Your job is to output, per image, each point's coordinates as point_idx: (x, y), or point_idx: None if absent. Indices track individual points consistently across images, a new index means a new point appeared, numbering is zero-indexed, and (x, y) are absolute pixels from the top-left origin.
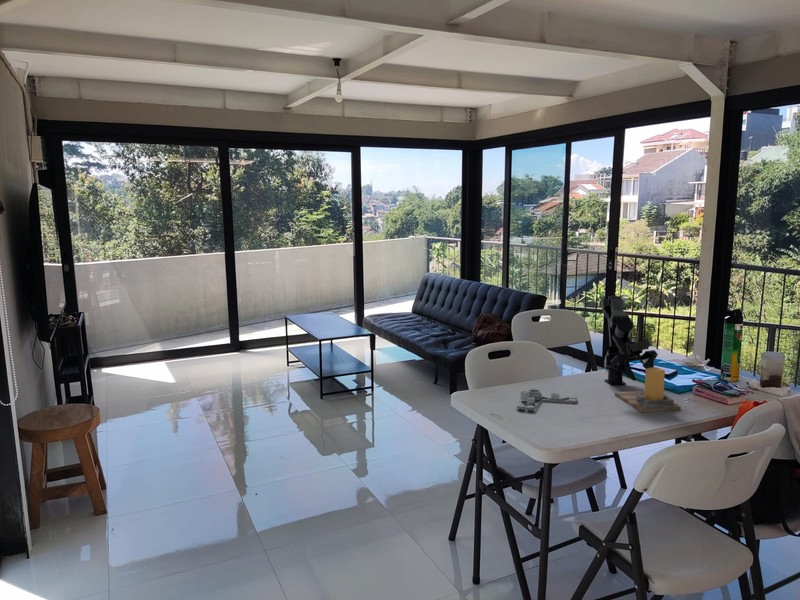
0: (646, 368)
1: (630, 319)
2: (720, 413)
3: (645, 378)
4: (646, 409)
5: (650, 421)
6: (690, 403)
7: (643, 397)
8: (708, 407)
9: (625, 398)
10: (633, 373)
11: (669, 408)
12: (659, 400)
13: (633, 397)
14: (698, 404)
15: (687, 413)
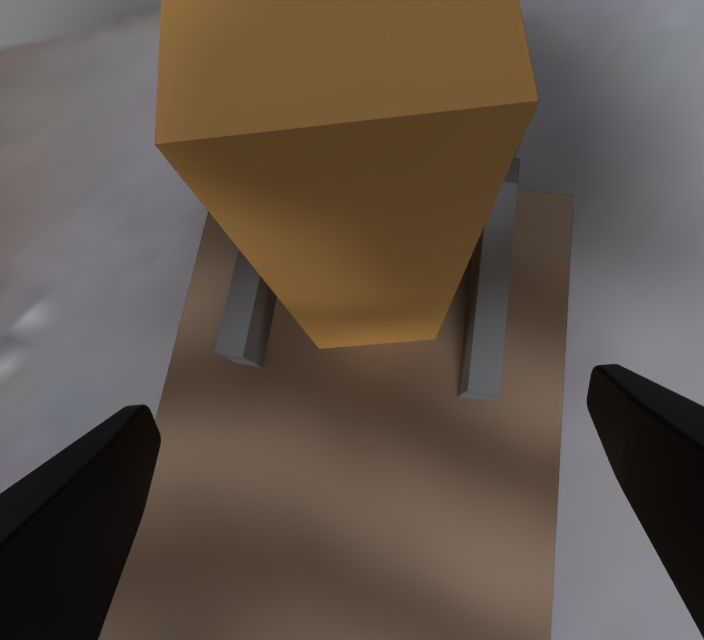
0: (510, 101)
1: None
2: (53, 53)
3: (476, 237)
4: (527, 193)
5: (606, 51)
6: (49, 267)
7: (485, 286)
8: (16, 159)
9: (543, 516)
10: (678, 431)
11: None
12: None
13: (441, 510)
14: (18, 230)
15: None
